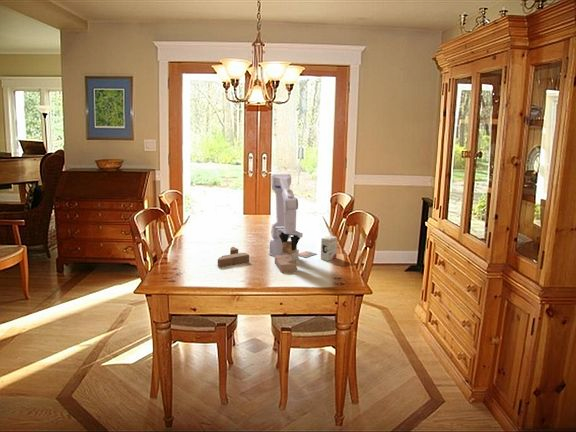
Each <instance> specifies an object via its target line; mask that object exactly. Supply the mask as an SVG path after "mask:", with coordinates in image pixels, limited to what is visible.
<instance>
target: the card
mask: <svg viewBox="0 0 576 432" xmlns="http://www.w3.org/2000/svg"><path fill="white" fill-rule="evenodd" d="M315 255H317V253H315V252H312V251H303V252H299V256H298V257H299V258H300V257H301V258H304V259H306V258H309V257H312V256H315Z"/></svg>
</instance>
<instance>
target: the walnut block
mask: <svg viewBox="0 0 576 432" xmlns="http://www.w3.org/2000/svg"><path fill="white" fill-rule="evenodd" d="M297 248H298V246H296V250H292V243H291V240H288V241H287V242H283V251H282V252H284V253H287V254H293V253H296V252H297Z"/></svg>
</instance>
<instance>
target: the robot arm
mask: <svg viewBox="0 0 576 432" xmlns="http://www.w3.org/2000/svg"><path fill="white" fill-rule="evenodd" d="M270 181H271V184H270V185H271V190H272V191H274V193H275V211H276V213H275V214H276V221H275V222H274V223H273V224H272V225H271V231H270V234H271V239H270V240H269V253H268V256H272V257H275V255H285V253H284V252H282V251H283V242H287V241H289V240H290V241H291V243H292V250H296V246H297V245H298V242H299V241H300V239H301V238H303V233H304V232H303V233H302V232H300V231H297V230H296V229H297V211H298V208H299V199H298V198H297V197H295V195H294V191H293V190H292V189H291V188H290V186H291V184H292V176H291V174H290V173H287V174H286V173H280V174H279V173H272V175H271V179H270ZM297 247H298V246H297Z"/></svg>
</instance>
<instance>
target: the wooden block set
mask: <svg viewBox="0 0 576 432" xmlns="http://www.w3.org/2000/svg"><path fill="white" fill-rule="evenodd" d="M229 251H230V254H227V255H222V256H220V257H218V258H217V267H218V268H225V267H230V266H238V265H244V264H248V263H250V254H248V253H247V252H239V248H236V247H234V246H232V247H230V249H229Z"/></svg>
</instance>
